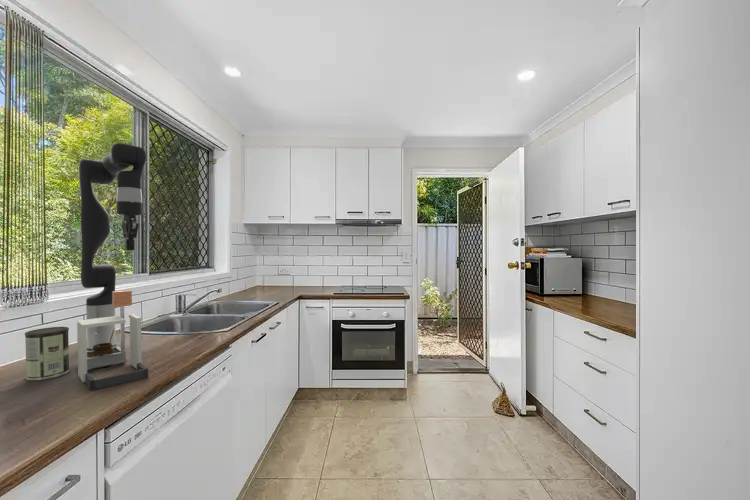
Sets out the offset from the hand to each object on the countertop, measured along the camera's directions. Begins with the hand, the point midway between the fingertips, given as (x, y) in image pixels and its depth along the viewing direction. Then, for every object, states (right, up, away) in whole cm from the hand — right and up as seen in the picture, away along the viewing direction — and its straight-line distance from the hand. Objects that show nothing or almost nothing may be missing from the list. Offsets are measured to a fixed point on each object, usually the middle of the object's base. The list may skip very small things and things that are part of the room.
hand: (130, 250), depth 128 cm
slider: (-6, -38, -4) cm, 39 cm away
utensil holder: (-6, -39, -5) cm, 40 cm away
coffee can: (-16, -40, -14) cm, 45 cm away
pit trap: (+9, -39, -19) cm, 45 cm away
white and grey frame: (+2, -39, -12) cm, 41 cm away
